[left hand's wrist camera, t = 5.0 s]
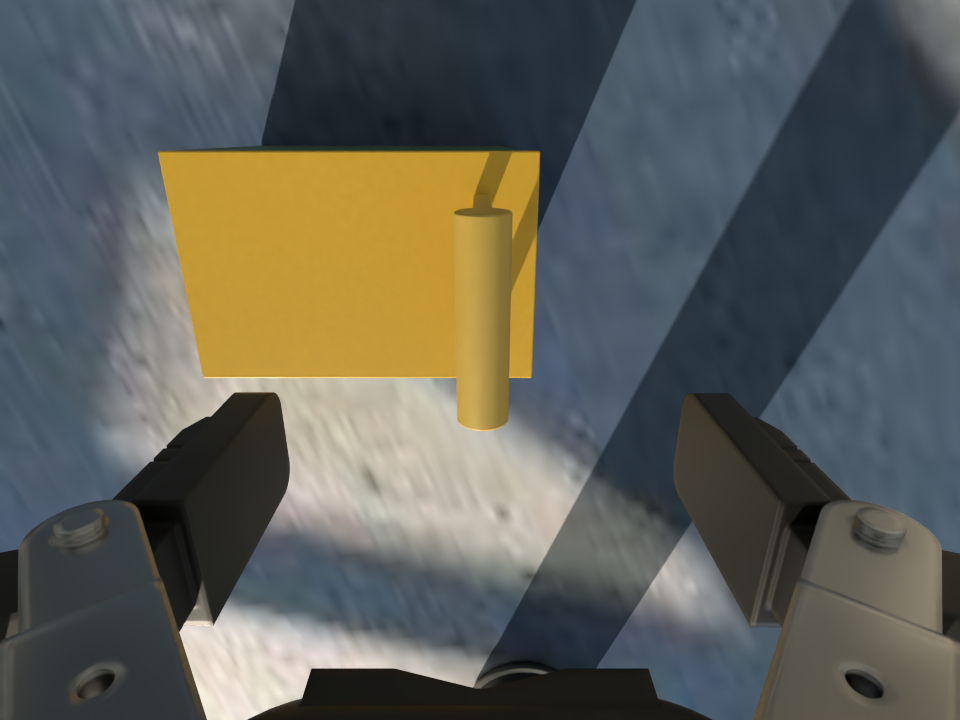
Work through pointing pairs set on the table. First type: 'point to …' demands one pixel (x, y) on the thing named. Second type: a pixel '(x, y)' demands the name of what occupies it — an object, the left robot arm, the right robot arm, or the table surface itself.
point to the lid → (361, 265)
